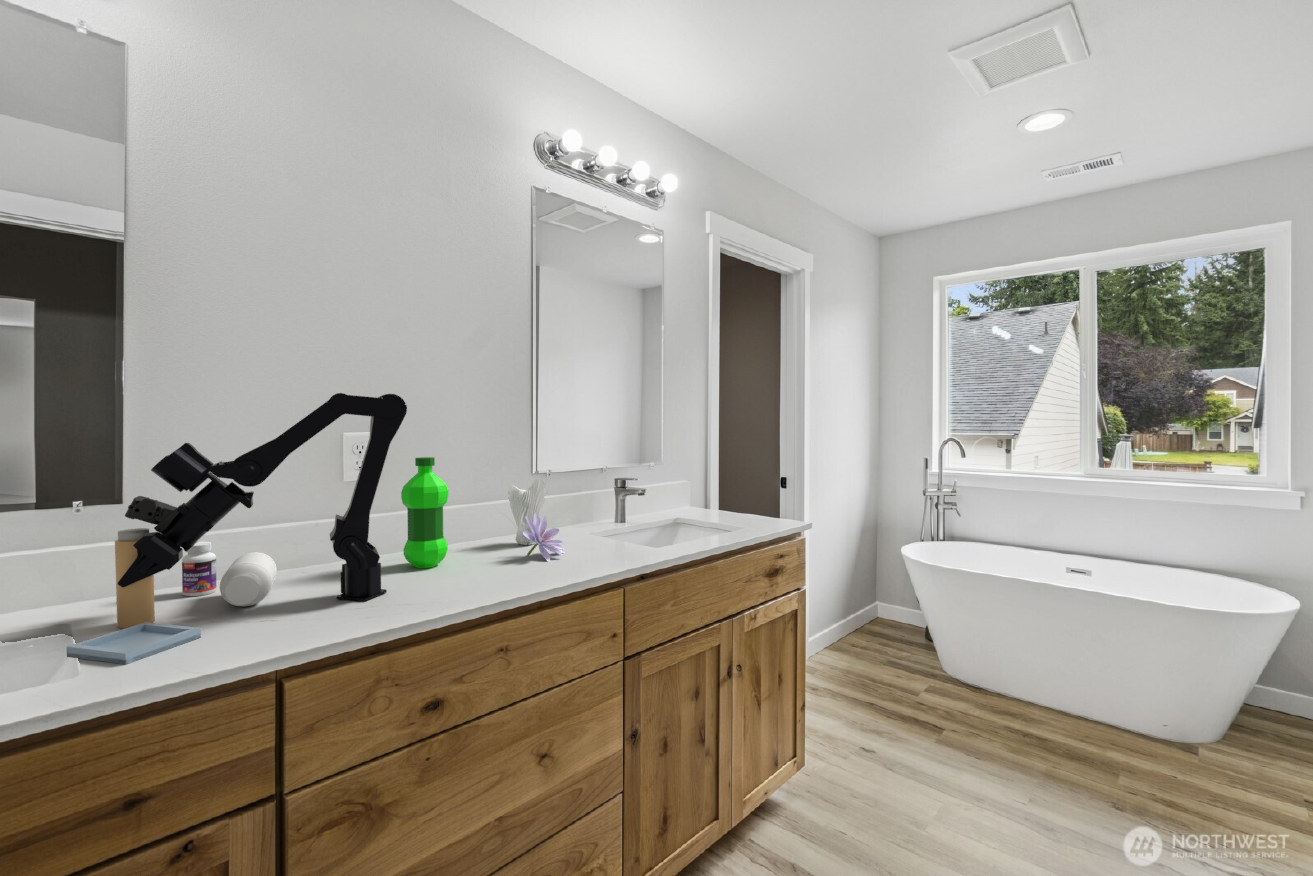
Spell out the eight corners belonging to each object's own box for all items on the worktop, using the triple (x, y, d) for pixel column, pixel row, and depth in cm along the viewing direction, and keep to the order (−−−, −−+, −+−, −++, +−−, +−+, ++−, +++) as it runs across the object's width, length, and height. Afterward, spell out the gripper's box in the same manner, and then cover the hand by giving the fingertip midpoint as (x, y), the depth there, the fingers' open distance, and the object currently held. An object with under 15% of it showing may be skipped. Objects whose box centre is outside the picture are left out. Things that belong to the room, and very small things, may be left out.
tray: (200, 637, 98) (200, 627, 97) (125, 664, 87) (125, 653, 87) (146, 631, 100) (146, 622, 100) (66, 657, 90) (66, 646, 89)
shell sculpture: (505, 544, 169) (504, 478, 168) (529, 540, 175) (529, 476, 175) (524, 548, 164) (524, 480, 163) (548, 544, 170) (548, 477, 169)
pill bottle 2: (251, 600, 123) (238, 622, 110) (219, 571, 121) (202, 590, 107) (287, 571, 126) (279, 590, 112) (257, 542, 123) (245, 558, 110)
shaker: (162, 619, 106) (159, 528, 105) (132, 629, 101) (129, 533, 100) (140, 617, 107) (137, 527, 106) (109, 626, 102) (106, 532, 102)
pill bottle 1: (178, 598, 119) (177, 547, 118) (186, 591, 123) (185, 542, 123) (213, 595, 121) (211, 545, 120) (219, 588, 126) (218, 539, 125)
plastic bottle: (455, 566, 144) (454, 458, 143) (407, 573, 138) (406, 459, 137) (443, 558, 152) (442, 455, 151) (397, 564, 146) (396, 457, 146)
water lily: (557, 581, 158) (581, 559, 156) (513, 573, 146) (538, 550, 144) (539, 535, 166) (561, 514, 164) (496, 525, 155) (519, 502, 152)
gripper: (173, 474, 113) (95, 541, 108) (149, 484, 97) (56, 563, 92) (227, 514, 117) (154, 580, 112) (212, 530, 101) (126, 608, 96)
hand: (124, 582), depth 103 cm, fingers closed on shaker, 5 cm apart
